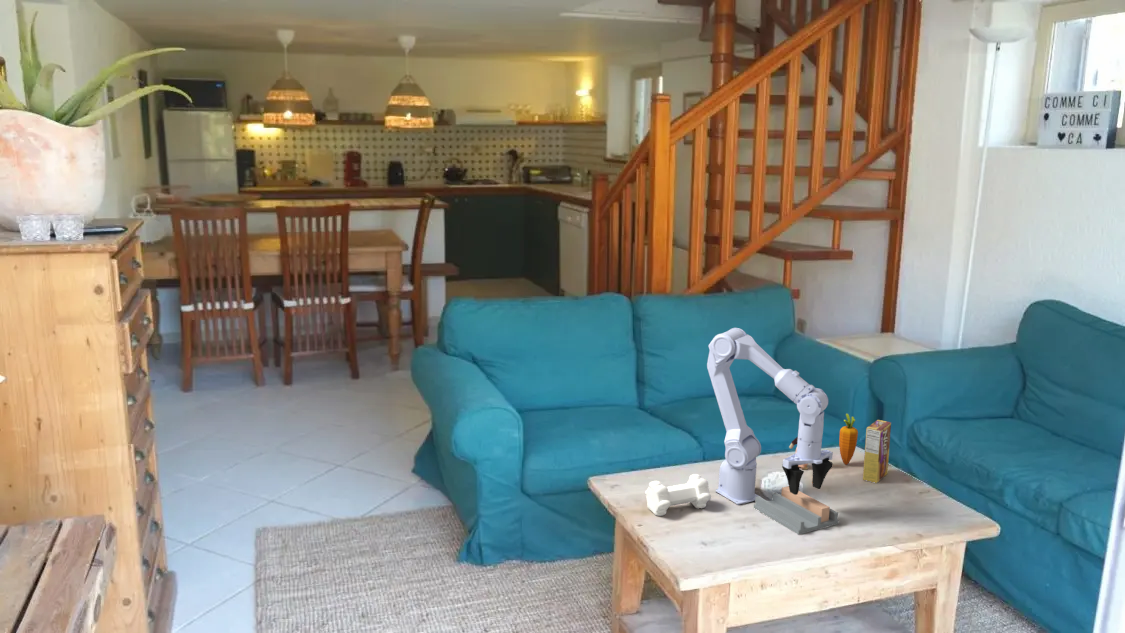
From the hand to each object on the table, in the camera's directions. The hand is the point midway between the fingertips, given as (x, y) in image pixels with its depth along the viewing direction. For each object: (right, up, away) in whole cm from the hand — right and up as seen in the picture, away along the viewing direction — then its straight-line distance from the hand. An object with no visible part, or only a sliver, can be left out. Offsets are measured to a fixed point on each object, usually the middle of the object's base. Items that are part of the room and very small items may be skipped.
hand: (805, 490), depth 212 cm
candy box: (+26, -2, +25) cm, 37 cm away
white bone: (-31, -6, +3) cm, 32 cm away
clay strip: (0, -5, +1) cm, 5 cm away
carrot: (+21, 0, +34) cm, 40 cm away
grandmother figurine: (+8, 0, +31) cm, 32 cm away
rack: (-2, -6, 0) cm, 7 cm away
